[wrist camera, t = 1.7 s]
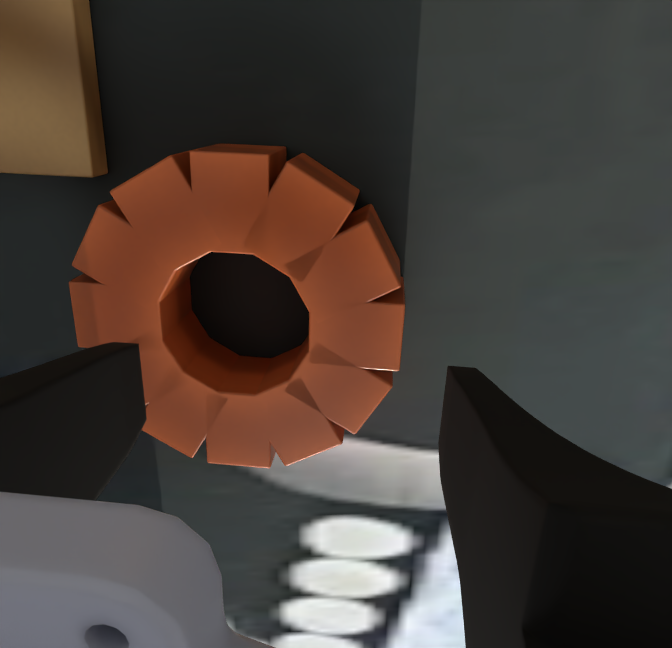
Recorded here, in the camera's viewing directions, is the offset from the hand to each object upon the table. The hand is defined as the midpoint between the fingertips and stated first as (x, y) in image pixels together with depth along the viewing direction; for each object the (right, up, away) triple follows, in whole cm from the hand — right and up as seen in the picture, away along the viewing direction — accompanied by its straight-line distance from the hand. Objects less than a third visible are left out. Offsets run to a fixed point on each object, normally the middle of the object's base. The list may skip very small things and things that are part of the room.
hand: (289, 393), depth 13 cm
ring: (-2, +3, +9) cm, 10 cm away
